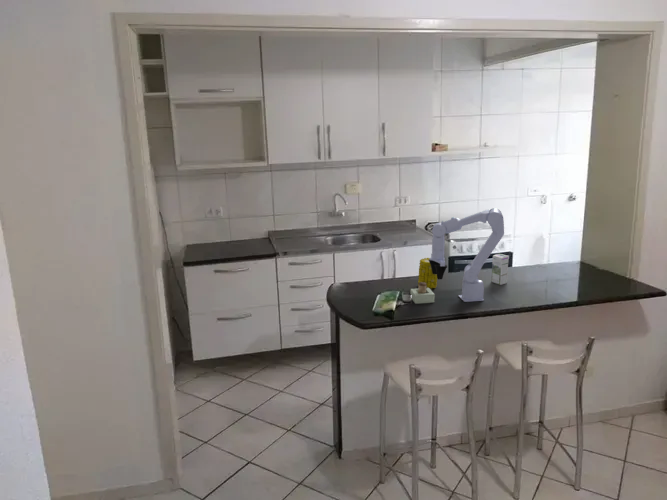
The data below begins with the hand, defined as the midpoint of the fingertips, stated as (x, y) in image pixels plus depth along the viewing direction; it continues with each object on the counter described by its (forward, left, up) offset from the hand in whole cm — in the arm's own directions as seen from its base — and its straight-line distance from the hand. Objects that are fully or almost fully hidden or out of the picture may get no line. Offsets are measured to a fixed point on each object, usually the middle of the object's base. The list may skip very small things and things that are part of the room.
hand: (437, 276), depth 250 cm
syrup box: (-37, -13, -10) cm, 40 cm away
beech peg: (+8, +3, -10) cm, 13 cm away
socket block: (+8, +3, -10) cm, 13 cm away
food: (0, -14, -10) cm, 17 cm away
